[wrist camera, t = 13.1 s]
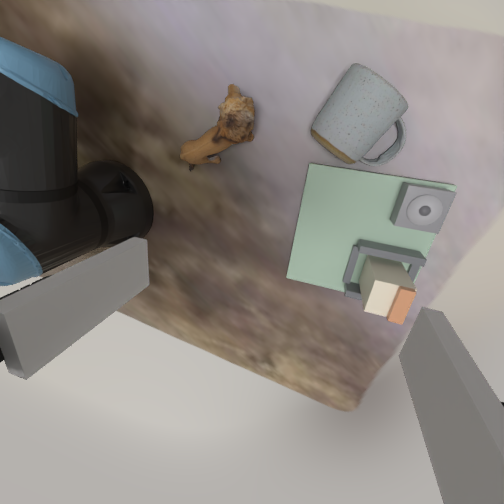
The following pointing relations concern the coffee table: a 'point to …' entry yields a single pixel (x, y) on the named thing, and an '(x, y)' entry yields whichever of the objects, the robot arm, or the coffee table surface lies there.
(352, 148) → the ceramic mug
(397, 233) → the board
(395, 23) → the coffee table surface
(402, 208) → the fan
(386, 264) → the plug
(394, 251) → the header
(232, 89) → the lion figurine
